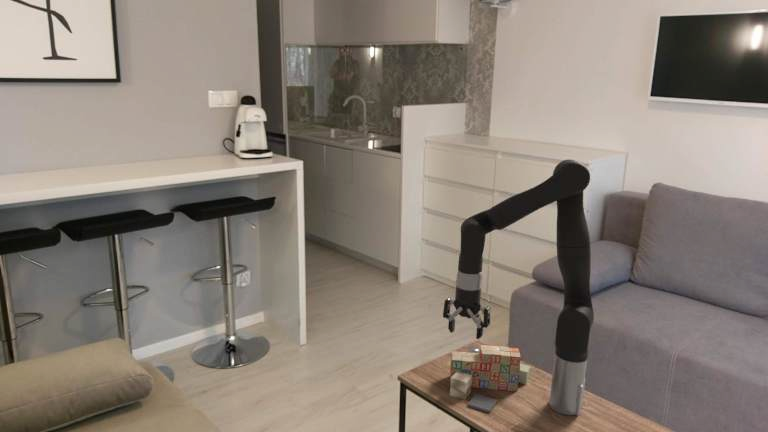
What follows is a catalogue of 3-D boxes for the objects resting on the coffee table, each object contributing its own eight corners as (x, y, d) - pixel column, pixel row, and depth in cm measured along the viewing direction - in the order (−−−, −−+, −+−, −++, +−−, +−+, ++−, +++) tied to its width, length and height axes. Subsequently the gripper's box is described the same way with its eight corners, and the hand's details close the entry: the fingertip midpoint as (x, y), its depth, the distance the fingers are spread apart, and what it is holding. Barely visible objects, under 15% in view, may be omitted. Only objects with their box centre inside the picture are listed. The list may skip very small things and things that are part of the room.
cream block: (470, 392, 185) (472, 375, 183) (464, 399, 180) (466, 382, 179) (455, 388, 187) (457, 371, 185) (449, 395, 183) (451, 377, 181)
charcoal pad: (497, 402, 180) (497, 399, 179) (489, 413, 174) (490, 410, 173) (475, 395, 183) (475, 393, 183) (467, 406, 177) (467, 403, 177)
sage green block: (529, 378, 194) (530, 366, 193) (525, 384, 191) (527, 372, 189) (516, 375, 196) (517, 362, 195) (512, 381, 193) (513, 368, 191)
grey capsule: (480, 363, 203) (482, 348, 201) (476, 368, 199) (478, 352, 198) (469, 360, 205) (471, 345, 203) (465, 365, 201) (466, 349, 200)
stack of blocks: (449, 386, 188) (452, 351, 185) (449, 376, 194) (452, 342, 191) (517, 391, 186) (521, 356, 183) (515, 381, 192) (518, 347, 189)
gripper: (495, 285, 175) (491, 336, 179) (451, 276, 181) (448, 325, 185) (487, 293, 168) (483, 345, 172) (441, 283, 175) (438, 333, 179)
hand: (464, 334), depth 179 cm, fingers open, 8 cm apart
